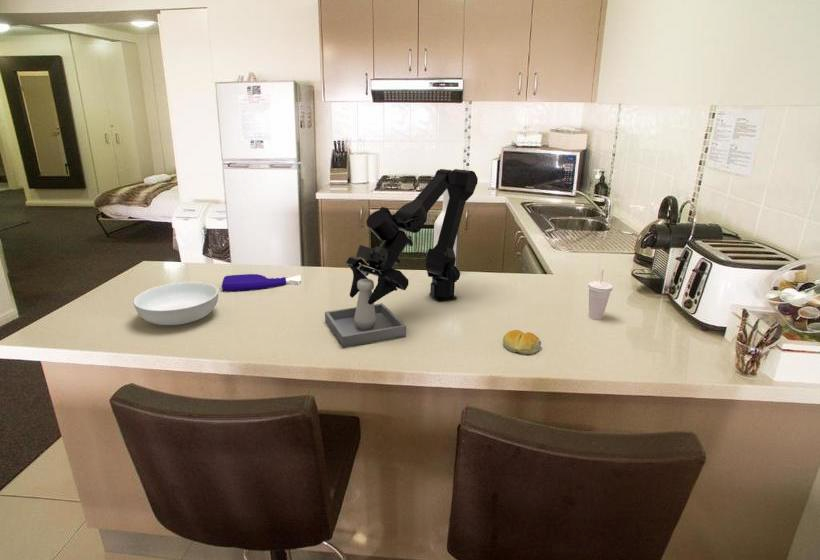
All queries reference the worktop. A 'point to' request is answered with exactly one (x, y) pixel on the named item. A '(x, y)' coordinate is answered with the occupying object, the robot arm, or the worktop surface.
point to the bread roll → (521, 342)
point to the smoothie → (598, 297)
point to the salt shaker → (365, 305)
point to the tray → (352, 336)
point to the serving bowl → (176, 302)
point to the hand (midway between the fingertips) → (359, 300)
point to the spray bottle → (255, 282)
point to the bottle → (440, 221)
